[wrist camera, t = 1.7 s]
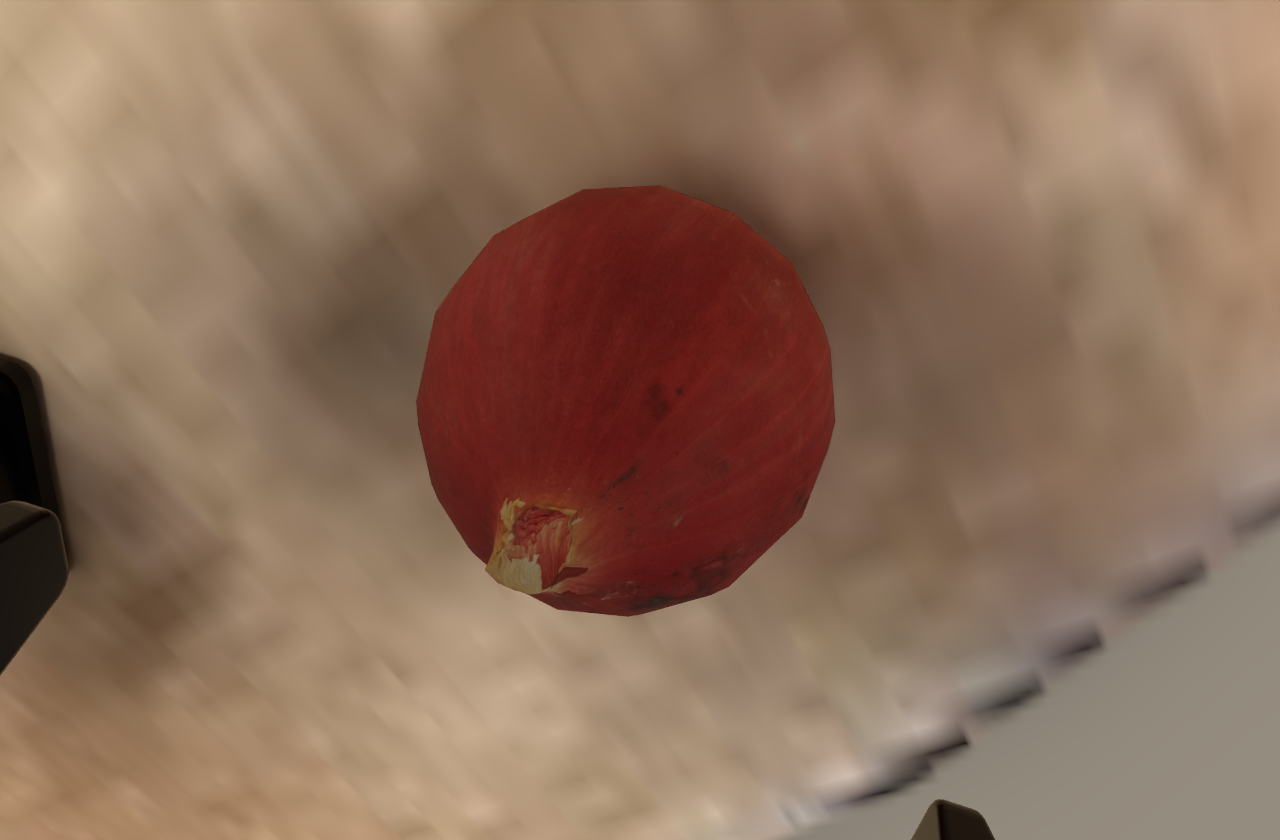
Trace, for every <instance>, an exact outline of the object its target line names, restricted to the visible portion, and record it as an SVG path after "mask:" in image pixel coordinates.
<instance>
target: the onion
mask: <svg viewBox="0 0 1280 840" xmlns="http://www.w3.org/2000/svg"><path fill="white" fill-rule="evenodd" d="M416 403H417V415H418V426H419V430H420V435H421V439H422V444H423V448H424V452H425V457H426V461H427V466H428V470H429V475H430V479H431V483H432V486H433V489H434V491H435V493H436V496H437V498H438V500H439V502H440V503H441V505H442V506H443V508H444V509H445V511H446V513H447V514H448V516H449V517H450V519H451V521H452V522H453V524H454V525H455V527H456V529H457V530H458V532H459V533H460V535H461V536H462V538H463V540H464V541H465V543H466V544H467V546H468V548H469V549H470V550H471V551H472V552H473V553H474V554H475V555H476V556H477V557H478V558H479V559H481V560H482V561H483V562H484V563H485V564H486V565H487V566H486V568H485V570H486V571H487V572H488V573H489V574H490V575H491V576H492V577H493V578H494V579H495V580H496V581H497V582H498V583H499V584H502V585H504V586H506V587H508V588H511V589H513V590H516V591H519V592H523V593H526V594H528V595H530V596H532V597H534V598H536V599H538V600H540V601H542V602H544V603H546V604H548V605H550V606H552V607H554V608H556V609H558V610H568V611H578V612H588V613H598V614H607V615H617V616H627V617H628V616H634V615H640V614H644V613H648V612H651V611H655V610H659V609H662V608H666V607H669V606H673V605H677V604H680V603H684V602H687V601H691V600H695V599H698V598H702V597H705V596H709V595H712V594H714V593H716V592H718V591H720V590H723V589H725V588H727V587H729V586H730V585H731V584H732V583H733V582H734V581H735V580H736V579H737V578H738V577H740V576H741V575H742V574H743V573H744V572H745V571H746V570H747V569H748V568H749V567H750V566H751V565H752V564H753V563H754V562H755V561H756V560H757V559H758V558H759V557H760V556H762V555H763V554H764V553H765V552H766V551H767V550H768V549H769V548H770V547H771V546H772V545H773V544H774V543H775V542H776V541H777V540H778V539H779V538H780V537H781V536H782V535H784V534H785V533H786V532H787V531H788V530H789V529H790V528H791V527H792V526H793V525H794V524H795V523H796V522H797V521H798V520H799V519H800V518H802V515H803V513H804V510H805V508H806V505H807V502H808V500H809V497H810V495H811V492H812V489H813V487H814V484H815V482H816V479H817V476H818V474H819V471H820V469H821V466H822V463H823V461H824V458H825V456H826V453H827V450H828V448H829V444H830V440H831V436H832V432H833V428H834V424H835V410H834V396H833V382H832V368H831V354H830V347H829V344H828V340H827V337H826V334H825V330H824V327H823V325H822V322H821V320H820V318H819V316H818V314H817V312H816V310H815V308H814V306H813V304H812V302H811V300H810V298H809V296H808V294H807V292H806V290H805V288H804V286H803V284H802V282H801V280H800V278H799V276H798V274H797V272H796V270H795V268H794V266H793V264H792V263H791V262H790V261H789V260H788V259H787V258H786V257H784V256H783V255H782V254H781V253H780V252H779V251H777V250H776V249H775V248H774V247H773V246H772V245H770V244H769V243H768V242H767V241H766V240H765V239H763V238H762V237H761V236H760V235H759V234H758V233H756V232H755V231H754V230H753V229H752V228H751V227H749V226H748V225H747V224H746V223H745V222H744V221H742V220H741V219H740V218H739V217H738V216H737V215H735V214H734V213H732V212H729V211H727V210H724V209H721V208H718V207H716V206H713V205H710V204H708V203H705V202H702V201H700V200H697V199H694V198H692V197H689V196H686V195H684V194H681V193H678V192H676V191H673V190H670V189H668V188H665V187H662V186H659V185H658V186H639V187H620V188H601V189H583V190H581V191H579V192H577V193H575V194H573V195H571V196H569V197H567V198H565V199H563V200H561V201H559V202H557V203H555V204H553V205H551V206H549V207H547V208H545V209H543V210H541V211H539V212H537V213H535V214H533V215H531V216H529V217H527V218H525V219H523V220H521V221H519V222H517V223H515V224H514V225H512V226H510V227H508V228H507V229H505V230H503V231H501V232H499V233H498V234H496V235H494V236H493V237H492V239H491V240H490V241H489V242H488V244H487V245H486V246H485V247H484V249H483V250H482V251H481V252H480V254H479V255H478V256H477V257H476V259H475V260H474V261H473V263H472V264H471V265H470V266H469V268H468V269H467V270H466V271H465V273H464V274H463V275H462V276H461V278H460V279H459V280H458V282H457V283H456V284H455V285H454V287H453V288H452V290H451V291H450V292H449V294H448V295H447V297H446V298H445V300H444V301H443V303H442V304H441V306H440V307H439V309H438V310H437V311H436V313H435V317H434V321H433V326H432V331H431V336H430V340H429V345H428V350H427V354H426V359H425V364H424V369H423V373H422V378H421V383H420V387H419V392H418V397H417V401H416Z"/></svg>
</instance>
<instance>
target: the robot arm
mask: <svg viewBox="0 0 1280 840" xmlns="http://www.w3.org/2000/svg"><path fill="white" fill-rule="evenodd" d="M68 574H69V566H68V561H67V556H66V550H65V545H64V540H63V535H62V529H61V524H60V519H59V514H58V508H57V503H56V498H55V493H54V488H53V482H52V477H51V472H50V467H49V461H48V456H47V451H46V446H45V441H44V435H43V430H42V425H41V420H40V414H39V409H38V404H37V399H36V394H35V388H34V385H33V382H32V379H31V378H30V376H29V375H28V373H27V372H26V371H25V370H24V369H23V368H22V367H20V366H19V365H18V364H16V363H14V362H12V361H9V360H6V359H3V358H0V675H1V674H2V673H3V671H4V670H5V669H6V667H7V666H8V665H9V663H10V662H11V661H12V659H13V658H14V657H15V655H16V654H17V652H18V651H19V650H20V648H21V647H22V646H23V644H24V643H25V642H26V640H27V639H28V638H29V636H30V635H31V634H32V632H33V631H34V630H35V628H36V627H37V626H38V624H39V623H40V622H41V620H42V619H43V618H44V616H45V615H46V614H47V612H48V611H49V609H50V608H51V607H52V605H53V604H54V603H55V601H56V600H57V599H58V597H59V596H60V594H61V593H62V591H63V589H64V587H65V585H66V582H67V578H68ZM911 840H995V839H994V837H993V835H992V833H991V831H990V829H989V827H988V825H987V823H986V821H985V819H984V818H983V816H982V815H981V814H980V813H979V812H978V811H976V810H974V809H971V808H968V807H965V806H962V805H959V804H956V803H952V802H949V801H946V800H942V799H938V800H935V801H934V802H933V803H932V804H931V805H930V806H929V808H928V810H927V812H926V814H925V816H924V817H923V819H922V821H921V823H920V824H919V826H918V828H917V830H916V832H915V834H914V835H913V837H912V839H911Z"/></svg>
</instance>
